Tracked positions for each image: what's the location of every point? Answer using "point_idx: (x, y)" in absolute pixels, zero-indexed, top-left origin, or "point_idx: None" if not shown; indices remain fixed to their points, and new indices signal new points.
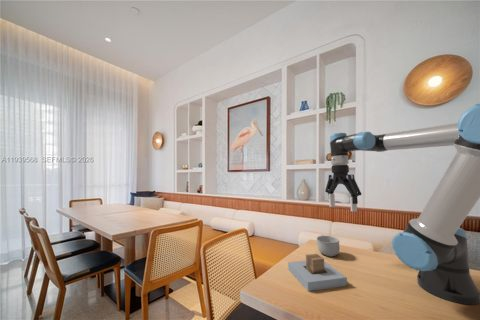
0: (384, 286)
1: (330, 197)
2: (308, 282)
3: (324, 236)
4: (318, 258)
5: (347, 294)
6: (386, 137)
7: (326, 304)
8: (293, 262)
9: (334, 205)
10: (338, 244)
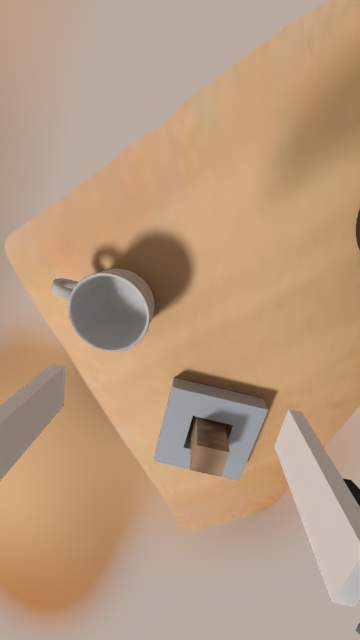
0: (311, 334)
1: (1, 474)
2: (239, 479)
3: (74, 295)
4: (221, 461)
5: (280, 421)
6: None
7: (277, 467)
8: (159, 452)
9: (58, 375)
10: (148, 299)
